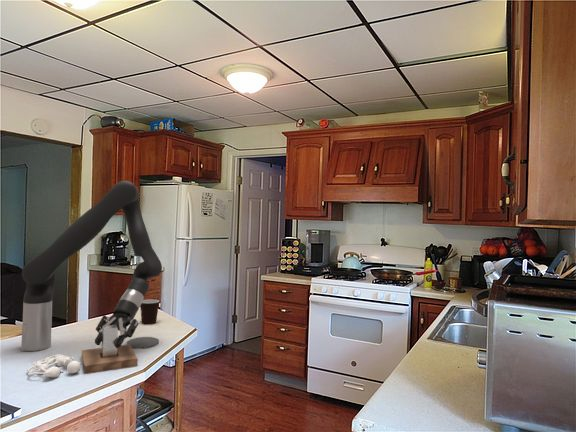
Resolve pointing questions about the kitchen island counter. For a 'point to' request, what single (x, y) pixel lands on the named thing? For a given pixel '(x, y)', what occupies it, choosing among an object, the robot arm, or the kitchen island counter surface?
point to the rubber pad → (143, 342)
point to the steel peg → (109, 341)
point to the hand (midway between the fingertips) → (106, 345)
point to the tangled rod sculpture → (55, 371)
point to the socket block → (108, 359)
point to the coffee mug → (149, 311)
